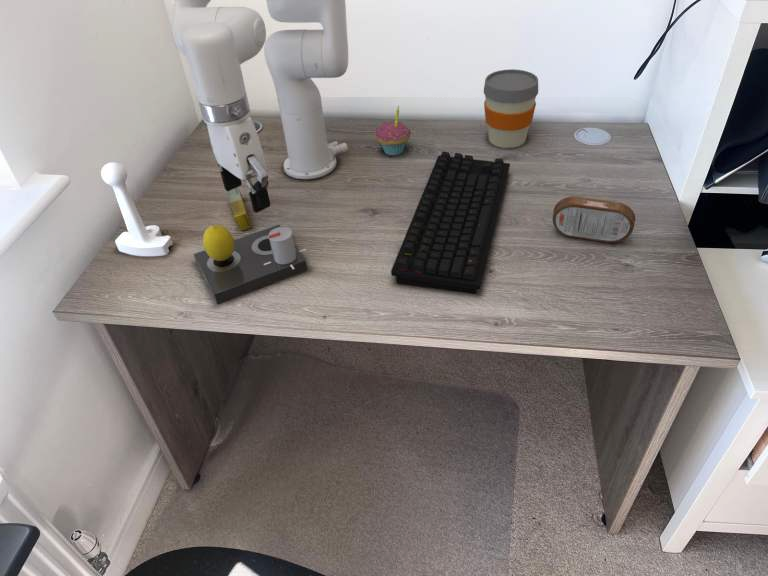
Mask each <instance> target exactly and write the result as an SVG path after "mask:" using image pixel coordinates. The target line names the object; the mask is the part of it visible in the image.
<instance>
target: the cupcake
mask: <svg viewBox="0 0 768 576" xmlns="http://www.w3.org/2000/svg"><path fill="white" fill-rule="evenodd" d="M399 116H400V105H398V106H397V108H396V109H395V119H394V120H395V121H388V122H386V121H385V122H382V123H381V124H380V125H379V126H378V127H376V128H375V129H376V130H375V132H374V140H375V141H376V142H377V143H378V144H380V146H381V147H382V150H383V152H384V153H385V154H386V155H388V156H398V155H401V154H402V153H403V152H404V150H405V146H406V143H408V141H409V139H410V138H411V133H412V132H411V129H410V128H409V127H408V126H407V125H405V123H404V122H400V121H399Z"/></svg>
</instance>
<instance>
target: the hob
mask: <svg viewBox="0 0 768 576" xmlns="http://www.w3.org/2000/svg"><path fill="white" fill-rule="evenodd" d="M278 227H282V226H281V225H280V224H276V225H273V226H269V227H267V228H265V229H262V230H259V231H256V232H253V233H250V234H248V235H247V234H246V235H245V236H241V237H239V238H236V239H233V240H234V251H236V252H237V253H239V254H240V257H241V260H240V262H239V264H238V265H237V266H235V267H234V268H232V269H230V270H227V271H222V272H217V271H213V270H211V269H209V268H208V266H207V261H208V259H209V258H210V256H209V255H208V254H207V253H206V251H205V249H204V250H201V251H198V252H196V253H193V256H194V260H195V262H196V265H197V267H198V270H199V271H200V273H201V275H202V277H203V279H204V281H205V283H206V285H207V287H208V289H209V291H210V293H211V294H212V297H213V299H214V301H215V302H216V305H220V304H223V303H226V302H227V301H230V300H232V299H235V298H238V297H241V296H243V295H247V294H248V293H252V292H254V291H257V290H259V289H262V288H264V287H267V286H270V285H272V284H275V283H278V282H281V281H283V280H285V279H289V278H292V277H293V276H297V275H299V274H302V273H304V272H307V271H308V264H307V260H306V259H305V257H304V256H303V254H302V252H306V251H307V248H303V249H301V250H299V249H298V248H297V246H296V245H295V249H296V254H297V257H296V259H295V260H294V261H293V262H291V263H288V264H278V263H276V262H275V261H274V258H273V254H271V255H258V254H256V253H254V252H253V250H252V244H253V242H254V241H255V240H257V239H258V238H260V237H263V236H266V235H269V233H270V231H272V230H273V229H275V228H278Z"/></svg>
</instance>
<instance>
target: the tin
mask: <svg viewBox="0 0 768 576" xmlns="http://www.w3.org/2000/svg"><path fill="white" fill-rule="evenodd" d="M635 223H636V215H635V212H634V210H633V209H632V208H631V207H630V206H629V205H627V204H626V203H623V202H621V201H616V200H607V199H601V198H600V199H599V198H593V197H586V196H578V195H573V196H567V197H564V198H562V199H560V200H559V201H558V202H556V204H555V205H554V208H553V211H552V224H553V226H554V228H555V230H556V231H557V232H559V234H561V235H563V236H566V237H568V238H573V239H574V238H575V239H581V240H587V241H594V242H600V243H606V244H616V243H620V242H623V241H625V240H627V239H628V238H629V237H630V236H631V235H632V233H633V231H634V229H635Z"/></svg>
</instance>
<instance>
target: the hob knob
mask: <svg viewBox="0 0 768 576" xmlns="http://www.w3.org/2000/svg"><path fill="white" fill-rule="evenodd" d="M268 236H269V241H270V245H271V249H272V254H273V258H274V261H275V262H276V263H278V264H288V263H291V262H293V261H294V260H295V259H296V257H297V254H296V249H295V246H296V244H295V240H294V235H293V230H292V229H291V228H289V227H286V226H281V227H278V228H275V229H273V230H272V231H270V233H269V235H268Z"/></svg>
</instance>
